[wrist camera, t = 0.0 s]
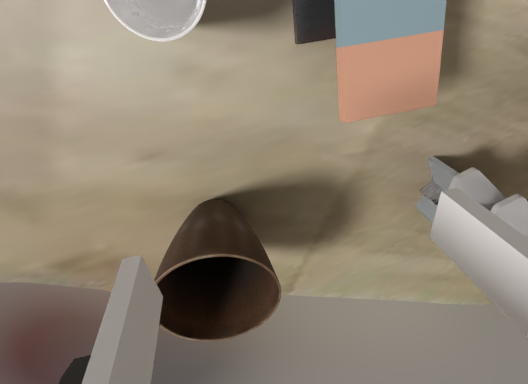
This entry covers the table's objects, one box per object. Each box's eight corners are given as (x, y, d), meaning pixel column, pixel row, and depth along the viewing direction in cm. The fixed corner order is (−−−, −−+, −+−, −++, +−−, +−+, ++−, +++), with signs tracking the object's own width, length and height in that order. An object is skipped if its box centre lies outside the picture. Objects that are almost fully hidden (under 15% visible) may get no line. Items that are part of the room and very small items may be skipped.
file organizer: (450, 267, 65) (544, 367, 47) (329, 221, 51) (397, 338, 33) (552, 174, 54) (725, 257, 36) (435, 85, 41) (618, 148, 23)
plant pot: (158, 246, 47) (139, 340, 34) (173, 168, 40) (158, 247, 27) (245, 257, 52) (258, 343, 39) (272, 188, 45) (300, 263, 32)
